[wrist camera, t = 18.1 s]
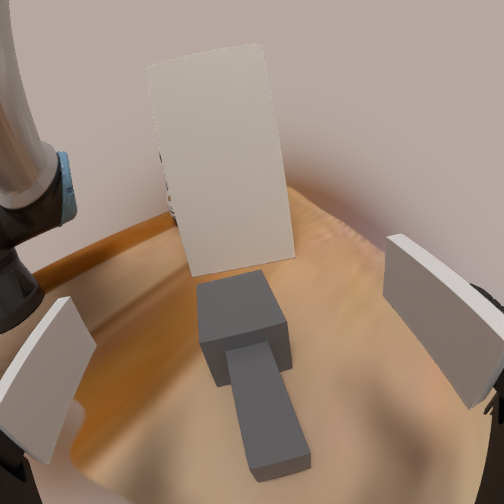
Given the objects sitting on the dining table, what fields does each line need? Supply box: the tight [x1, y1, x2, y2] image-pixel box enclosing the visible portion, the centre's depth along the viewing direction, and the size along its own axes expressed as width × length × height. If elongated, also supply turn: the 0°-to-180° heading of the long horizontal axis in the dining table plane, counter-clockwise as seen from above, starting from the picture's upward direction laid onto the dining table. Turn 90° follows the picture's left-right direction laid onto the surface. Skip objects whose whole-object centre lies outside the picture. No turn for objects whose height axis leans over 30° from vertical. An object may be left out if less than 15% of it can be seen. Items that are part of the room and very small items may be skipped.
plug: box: [197, 270, 311, 482], centre depth 19 cm, size 19×6×5 cm, turn 11°
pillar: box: [145, 43, 295, 277], centre depth 37 cm, size 12×14×28 cm
